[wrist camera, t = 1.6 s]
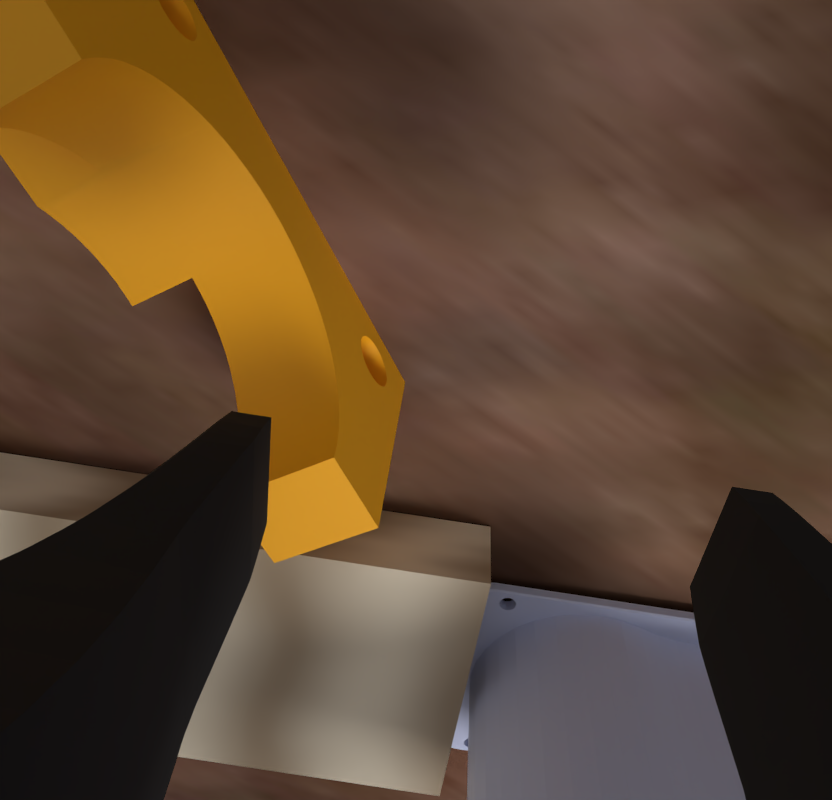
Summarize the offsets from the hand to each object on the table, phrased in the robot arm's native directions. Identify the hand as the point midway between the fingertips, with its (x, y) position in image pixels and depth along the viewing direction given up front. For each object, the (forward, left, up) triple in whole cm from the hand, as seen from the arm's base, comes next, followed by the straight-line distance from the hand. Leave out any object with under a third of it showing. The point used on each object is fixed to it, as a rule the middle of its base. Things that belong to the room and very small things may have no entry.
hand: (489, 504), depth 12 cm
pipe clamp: (+7, 0, -10) cm, 12 cm away
